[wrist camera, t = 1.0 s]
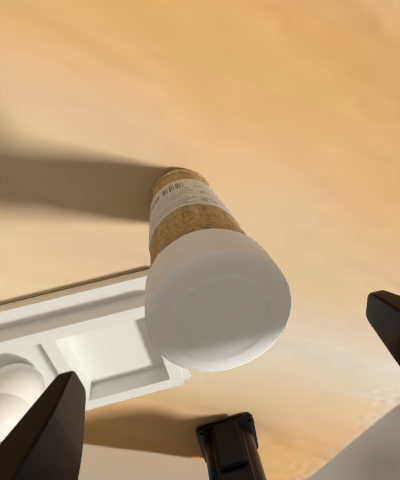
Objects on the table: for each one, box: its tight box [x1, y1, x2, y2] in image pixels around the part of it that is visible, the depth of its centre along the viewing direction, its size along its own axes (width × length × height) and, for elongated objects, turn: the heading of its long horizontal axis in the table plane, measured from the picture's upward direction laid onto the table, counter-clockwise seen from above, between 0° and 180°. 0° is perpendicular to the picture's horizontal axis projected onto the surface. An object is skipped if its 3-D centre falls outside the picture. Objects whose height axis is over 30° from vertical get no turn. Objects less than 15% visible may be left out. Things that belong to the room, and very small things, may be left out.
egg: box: [0, 363, 45, 442], centre depth 21 cm, size 4×4×5 cm
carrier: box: [0, 269, 191, 411], centre depth 23 cm, size 12×18×3 cm, turn 101°
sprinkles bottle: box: [145, 169, 291, 372], centre depth 14 cm, size 5×5×14 cm
